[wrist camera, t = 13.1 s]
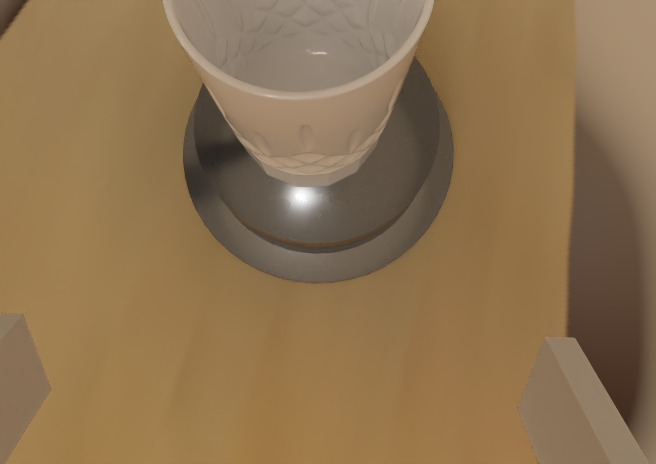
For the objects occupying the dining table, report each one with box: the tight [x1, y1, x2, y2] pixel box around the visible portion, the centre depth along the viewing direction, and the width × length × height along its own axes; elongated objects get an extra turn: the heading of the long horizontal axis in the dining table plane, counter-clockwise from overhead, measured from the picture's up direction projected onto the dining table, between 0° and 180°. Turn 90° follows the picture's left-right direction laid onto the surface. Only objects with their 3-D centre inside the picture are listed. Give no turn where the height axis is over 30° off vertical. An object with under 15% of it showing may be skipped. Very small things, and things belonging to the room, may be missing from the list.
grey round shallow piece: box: [183, 56, 453, 283], centre depth 25 cm, size 15×15×4 cm
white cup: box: [162, 0, 435, 187], centre depth 19 cm, size 8×8×10 cm
